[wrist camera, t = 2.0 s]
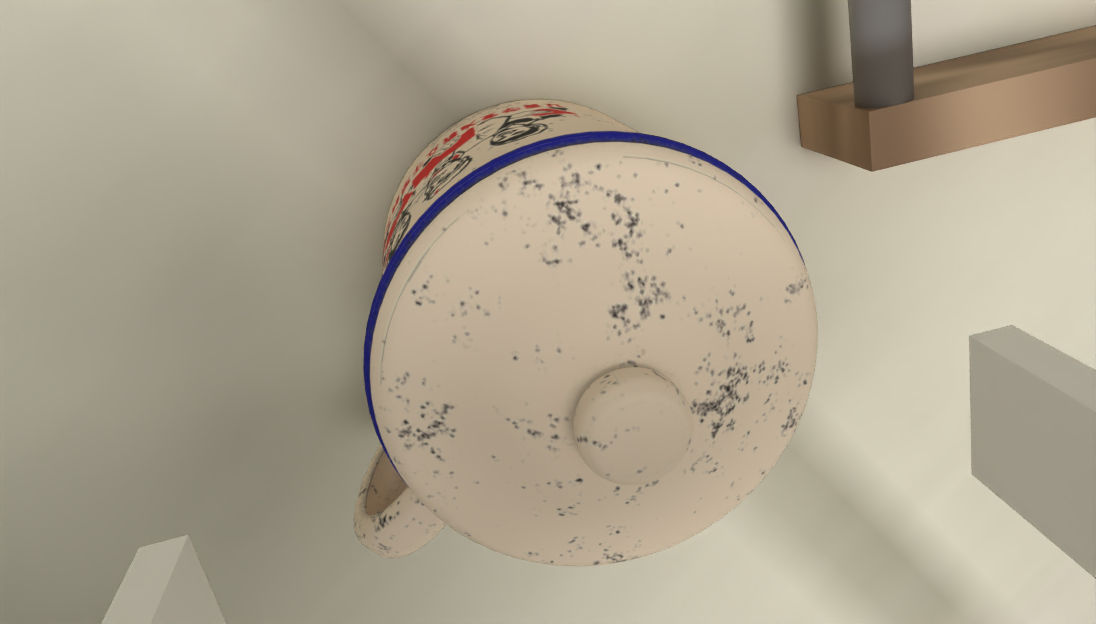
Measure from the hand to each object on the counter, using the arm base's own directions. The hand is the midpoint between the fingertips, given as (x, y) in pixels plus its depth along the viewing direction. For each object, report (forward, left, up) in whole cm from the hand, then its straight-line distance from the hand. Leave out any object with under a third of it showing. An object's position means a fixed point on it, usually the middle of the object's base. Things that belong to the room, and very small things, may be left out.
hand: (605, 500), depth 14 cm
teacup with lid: (0, 0, -12) cm, 12 cm away
